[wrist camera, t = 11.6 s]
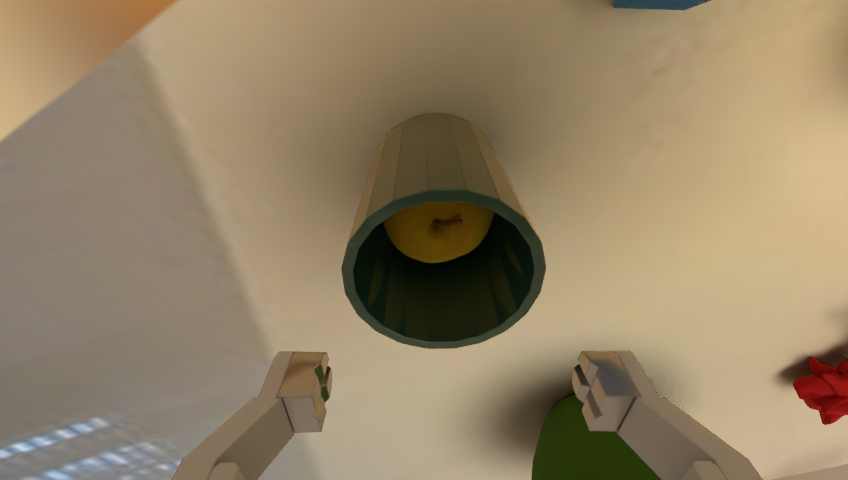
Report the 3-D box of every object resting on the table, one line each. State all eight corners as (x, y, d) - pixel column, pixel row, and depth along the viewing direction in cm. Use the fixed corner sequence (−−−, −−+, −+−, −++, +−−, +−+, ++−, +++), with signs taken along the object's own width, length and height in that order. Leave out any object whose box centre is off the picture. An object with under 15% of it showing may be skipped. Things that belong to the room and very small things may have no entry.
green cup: (366, 112, 22) (329, 189, 13) (505, 112, 23) (564, 189, 13) (375, 231, 27) (353, 349, 18) (491, 231, 27) (527, 348, 18)
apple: (490, 128, 23) (520, 182, 16) (477, 218, 26) (498, 293, 19) (386, 124, 22) (372, 177, 16) (388, 216, 26) (377, 290, 19)
